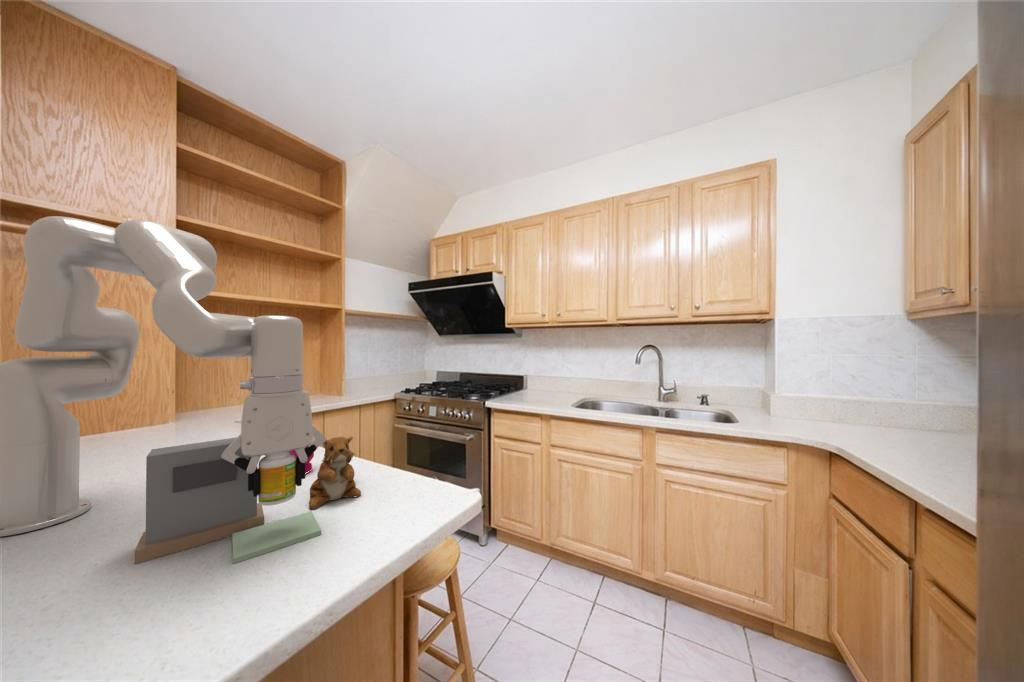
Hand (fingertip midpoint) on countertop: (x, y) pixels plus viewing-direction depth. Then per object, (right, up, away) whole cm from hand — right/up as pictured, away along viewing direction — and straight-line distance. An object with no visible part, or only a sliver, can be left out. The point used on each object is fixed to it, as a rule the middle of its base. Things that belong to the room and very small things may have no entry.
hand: (277, 487), depth 58 cm
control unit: (-13, -9, +1) cm, 16 cm away
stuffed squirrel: (+1, -9, +17) cm, 19 cm away
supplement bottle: (0, -2, 0) cm, 2 cm away
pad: (0, -9, 0) cm, 9 cm away
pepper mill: (-16, -9, +29) cm, 35 cm away
